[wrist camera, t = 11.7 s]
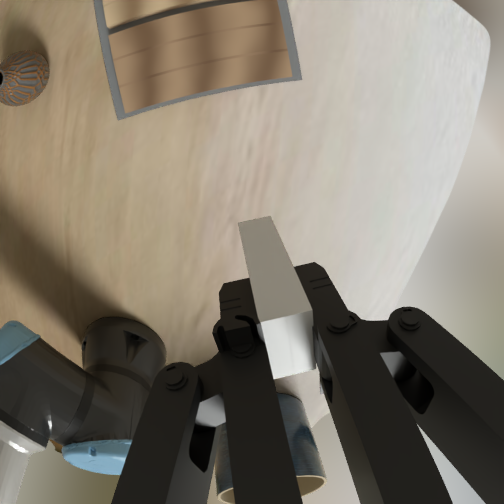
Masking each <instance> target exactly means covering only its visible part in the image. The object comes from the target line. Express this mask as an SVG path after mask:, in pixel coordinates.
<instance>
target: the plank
mask: <svg viewBox="0 0 504 504" xmlns="http://www.w3.org/2000/svg"><path fill="white" fill-rule="evenodd" d="M102 1H103V7H104V14H105V20H106V25H107V27H108V28H110V29H112V28H115V27H118V26H120V25H123V24H126V23H129V22H132V21H135V20H138V19H141V18H144V17H148V16H151V15H155V14H158V13H162V12H165V11H169V10H173V9H177V8H181V7H186V6H190V5H195V4H199V3H204V2H210V1H215V0H102Z"/></svg>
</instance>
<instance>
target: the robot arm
mask: <svg viewBox="0 0 504 504" xmlns="http://www.w3.org/2000/svg"><path fill="white" fill-rule="evenodd" d="M238 226H239V231H240V235H241V240H242V245H243V250H244V254H245V259H246V264H247V268H248V273H249V278H246V279H242V280H237V281H233V282H228V283H224V284H223V286H222V288H221V290H220V292H219V301H220V311H221V312H220V315H221V319H220V320H218V322H217V323H216V324H215V326H214V328H213V332H212V334H213V337H214V339H215V342H216V345H217V347H218V350H219V352H218V353H217V354H216V355H215V356H214V357H213V358H212V359H210V360H209V361H207V362H205V363H203V364H201V365H198V366H196V367H193V366H192V365H190V364H188V363H184V362H178V363H172V364H170V365H167V366H165V363H166V349H165V346H164V344H163V342H162V340H161V339H160V338H159V337H158V335H157V334H155V333H154V332H153V331H152V330H151V329H149V328H148V327H146V326H144V325H142V324H141V323H138V322H136V321H133V320H130V319H126V318H119V317H108V318H102V319H99V320H97V321H95V322H93V323H92V324H91V325H90V326H89V327H88V328H87V330H86V332H85V335H84V337H83V340H82V363H83V369H82V368H81V367H79V366H78V365H76V364H75V363H74V362H72V361H71V360H69V359H68V358H66V357H65V356H64V355H62V354H61V353H60V352H58V351H57V350H56V349H54V348H53V347H52V346H50V345H49V344H48V343H46V342H45V341H44V340H43V339H41V338H40V337H41V336H40V335H38V334H35V333H34V332H32V331H31V330H30V329H28V328H27V327H26V326H24V325H23V324H22V323H20V322H18V321H14V320H13V321H9V322H7V323H6V324H5V325H4V326H3V327H2V328H1V329H0V504H16V501H17V497H18V493H19V490H20V487H21V483H22V480H23V476H24V473H25V470H26V467H27V464H28V461H29V458H30V455H31V454H33V453H35V452H39V451H43V450H45V449H46V446H47V443H48V440H49V439H51V440H54V441H55V442H57V443H59V444H61V445H62V446H63V448H62V454H63V457H64V459H65V460H66V461H68V462H69V463H70V464H72V465H74V466H76V467H79V468H81V469H85V470H88V471H92V472H97V473H102V474H113V475H120V478H119V481H118V484H117V487H116V490H115V493H114V497H113V500H112V503H111V504H207V499H208V494H209V489H210V483H211V479H212V474H213V469H214V464H215V458H216V453H217V448H218V443H219V438H220V433H221V427H222V423H225V422H226V429H227V439H228V448H229V457H230V466H231V475H232V483H233V491H234V499H235V504H303V502H302V498H301V494H300V490H299V485H298V481H297V477H296V473H295V468H294V464H293V460H292V456H291V452H290V447H289V443H288V439H287V435H286V430H285V426H284V422H283V417H282V413H281V409H280V404H279V400H278V396H277V392H276V387H275V383H274V379H277V378H281V377H286V376H290V375H294V374H298V373H302V372H306V371H310V370H314V369H316V363H317V366H318V369H319V372H320V394H323V393H324V395H325V398H326V400H327V403H328V406H329V409H330V412H331V415H332V418H333V421H334V424H335V427H336V430H337V433H338V436H339V439H340V442H341V445H342V448H343V451H344V454H345V457H346V460H347V463H348V466H349V469H350V472H351V475H352V478H353V482H354V485H355V488H356V491H357V494H358V497H359V500H360V503H361V504H453V503H452V500H451V498H450V496H449V493H448V491H447V489H446V486H445V484H444V482H443V480H442V477H441V475H440V472H439V470H438V468H437V466H436V464H435V462H434V459H433V457H432V455H431V453H430V451H429V448H428V447H427V444H426V442H425V440H424V438H423V436H422V434H421V432H420V430H419V428H418V426H417V424H418V425H419V427H420V428H421V429H422V430H423V431H424V432H425V434H426V435H427V436H428V437H429V438H430V439H431V440H432V442H433V443H434V444H435V445H436V446H437V447H438V448H439V450H440V451H441V452H442V453H443V454H444V455H445V456H446V458H447V459H448V460H449V461H450V462H451V463H452V465H453V466H454V467H455V468H456V469H457V471H458V472H459V473H460V474H461V475H462V476H463V477H464V479H465V480H466V481H467V482H468V483H469V484H470V486H471V487H472V488H473V489H474V490H475V491H476V493H477V494H478V495H479V496H480V497H481V499H482V500H483V501H484V502H485V503H486V504H504V380H503V379H501V378H500V377H499V376H498V375H497V374H496V373H495V372H494V371H493V370H492V369H490V368H489V367H488V366H487V365H486V364H485V363H484V362H483V361H482V360H480V359H479V358H478V357H477V356H476V355H475V354H474V353H472V352H471V351H470V350H469V349H468V348H467V347H466V346H464V345H463V344H462V343H461V342H460V341H459V340H457V339H456V338H455V337H454V336H453V335H452V334H450V333H449V332H448V331H447V330H446V329H444V328H443V327H442V326H441V325H440V324H438V323H437V322H436V321H435V320H434V319H432V318H431V317H430V316H429V315H427V314H426V313H425V312H423V311H422V310H420V309H418V308H414V307H402V308H399V309H396V310H395V311H393V312H392V313H391V314H390V317H389V319H388V320H383V321H366V320H362V319H360V318H359V317H358V316H357V314H355V313H353V312H351V311H348V309H347V307H346V306H345V304H344V302H343V300H342V299H341V297H340V295H339V293H338V292H337V290H336V288H335V286H334V285H333V283H332V281H331V279H330V278H329V276H328V274H327V272H326V271H325V269H324V268H323V267H321V266H320V265H318V264H317V263H315V262H313V263H309V264H304V265H300V266H296V267H293V264H292V262H291V260H290V258H289V256H288V253H287V251H286V249H285V247H284V244H283V242H282V240H281V238H280V236H279V234H278V231H277V229H276V227H275V225H274V223H273V220H272V218H271V216H268V217H263V218H259V219H254V220H249V221H245V222H240V223H238Z"/></svg>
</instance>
